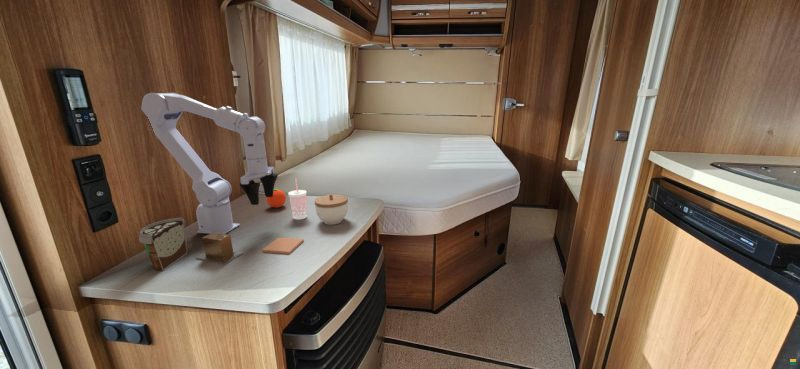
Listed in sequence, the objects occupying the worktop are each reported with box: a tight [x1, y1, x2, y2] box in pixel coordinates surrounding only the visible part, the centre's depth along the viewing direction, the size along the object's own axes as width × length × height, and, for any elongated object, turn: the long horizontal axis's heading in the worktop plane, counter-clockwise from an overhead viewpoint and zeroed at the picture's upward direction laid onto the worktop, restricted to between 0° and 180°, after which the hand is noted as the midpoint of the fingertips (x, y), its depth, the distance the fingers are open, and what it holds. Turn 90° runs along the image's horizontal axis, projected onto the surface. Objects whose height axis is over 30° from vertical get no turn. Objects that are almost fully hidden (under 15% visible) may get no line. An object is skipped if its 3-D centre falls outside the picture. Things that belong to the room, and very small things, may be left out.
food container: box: [138, 217, 189, 272], centre depth 84 cm, size 12×6×10 cm, turn 178°
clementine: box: [265, 188, 287, 209], centre depth 125 cm, size 8×7×7 cm
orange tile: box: [262, 236, 305, 255], centre depth 93 cm, size 1×8×8 cm
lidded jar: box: [314, 193, 349, 225], centre depth 109 cm, size 11×11×9 cm
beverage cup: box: [287, 177, 308, 220], centre depth 113 cm, size 6×6×14 cm
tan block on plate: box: [195, 232, 244, 265], centre depth 87 cm, size 10×6×6 cm, turn 71°
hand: (262, 200), depth 103 cm, fingers open, 7 cm apart
